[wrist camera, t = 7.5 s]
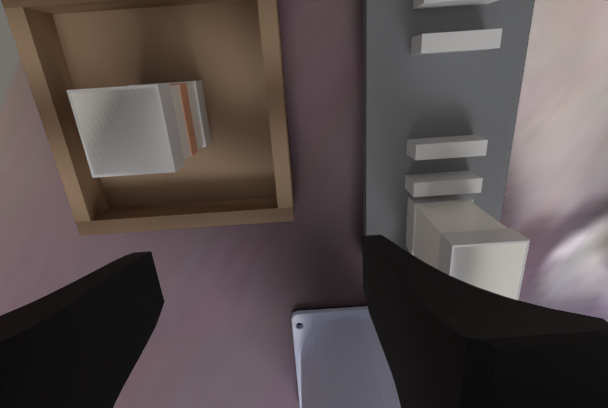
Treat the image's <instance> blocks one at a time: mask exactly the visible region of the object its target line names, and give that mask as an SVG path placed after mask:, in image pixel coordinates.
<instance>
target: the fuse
mask: <svg viewBox="0 0 608 408" xmlns="http://www.w3.org/2000/svg"><path fill="white" fill-rule="evenodd" d="M529 243H530V240H529V239H527V238H526V237H525V236H523V235H522V234H520V233H519V232H518V231H516V230H515V229H513V228H507V227H505V226H504V225H502V224H501V223H500V222H498V221H497V220H496V219H494V218H493V217H492V216H490V215H489V214H488V213H486V212H485V211H483V210H482V209H481V208H479V207H478V206H477V205H475V204H474V203H473V199H472V198H470V197H469V196H467V195H466V194H454V195H440V196H425V197H412V196H408V205H407V225H406V247H407V249H408V250H409V252H410V253H411V254H412V255H415V257H417V258H418V259H420V260H422V261H423V262H425V263H427V264H429V265H431V266H432V267H434V268H436V269H438V270H440V271H442V272H444V273H446V274H448V275H450V276H452V277H454V278H457V279H459V280H461V281H464V282H466V283H468V284H471V285H473V286H476V287H479V288H481V289H484V290H487V291H490V292H493V293H496V294H499V295H502V296H505V297H508V298H512V299H515V300H518V299H519V294H520V289H521V284H522V279H523V274H524V268H525V263H526V258H527V253H528V248H529Z"/></svg>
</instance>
